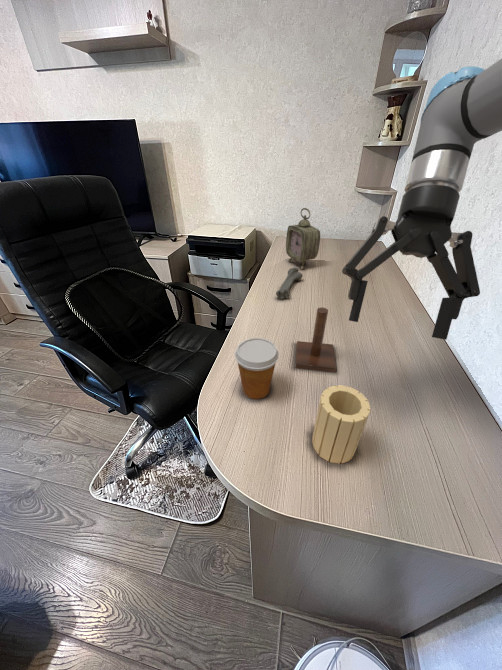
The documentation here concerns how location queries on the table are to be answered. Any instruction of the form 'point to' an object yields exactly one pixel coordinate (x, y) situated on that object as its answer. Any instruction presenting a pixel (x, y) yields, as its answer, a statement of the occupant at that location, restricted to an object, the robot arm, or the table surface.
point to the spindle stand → (316, 348)
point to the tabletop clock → (302, 241)
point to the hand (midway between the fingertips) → (395, 330)
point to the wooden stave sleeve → (339, 423)
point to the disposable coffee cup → (256, 366)
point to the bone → (288, 283)
